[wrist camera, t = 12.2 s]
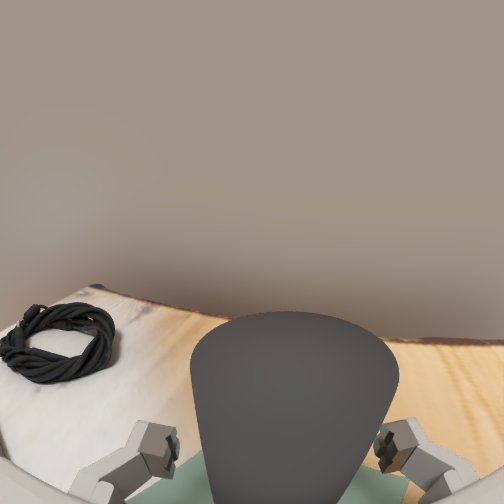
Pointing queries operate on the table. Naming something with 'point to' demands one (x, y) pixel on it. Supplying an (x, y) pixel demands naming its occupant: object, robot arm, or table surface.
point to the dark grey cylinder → (289, 405)
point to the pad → (200, 497)
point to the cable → (53, 365)
